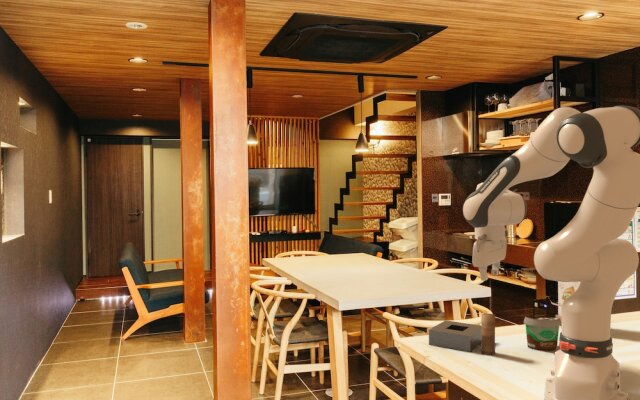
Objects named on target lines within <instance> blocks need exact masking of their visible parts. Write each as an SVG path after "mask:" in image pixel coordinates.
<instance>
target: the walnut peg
mask: <svg viewBox="0 0 640 400" xmlns="http://www.w3.org/2000/svg"><path fill="white" fill-rule="evenodd" d="M480 321H481V325H480V326H482V344H481V354H482V355H484V356H495V355H496V315H495V314H493V313H488V312H487V313H482V314H481V320H480Z"/></svg>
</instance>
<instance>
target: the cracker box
mask: <svg viewBox="0 0 640 400" xmlns="http://www.w3.org/2000/svg"><path fill="white" fill-rule="evenodd" d="M557 283H558V284H557V286H558V287H557V293H558V296H557V297H558V298H557V299H558V300H557V301H558V302H557V303H558V305H557V308H558V309H557V311H558V312H557V315H558V316H559V317H560V319H561V323H562V304H563V302H564V300H565V299H566V298H568V297H569V296H571V295H572V294H574V293H575V292H576V290H577V289H578V287H579V285H580V283H581V282H559V281H557ZM560 326H562V324H561V325H560Z"/></svg>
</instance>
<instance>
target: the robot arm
mask: <svg viewBox="0 0 640 400" xmlns="http://www.w3.org/2000/svg"><path fill="white" fill-rule="evenodd" d="M639 145H640V109H638V108H637V107H634V106H629V105H615V106H612V107H611V106H610V107H599V108H594V109H590V110H586V111H584V112H581V111H579V110H578V109H576V108H573V107H569V106H562V107H559V108H556V109H554V110H553V111H552V112H550V113H549V115H547V116H546V118H544V120H543V121H542V122H541V123H540V124H539V126H537V128H536V129H535V131H534V132H533V133H532V135H531V136H530V138H529V139H528V140H527V141H526V142H525V143H524V144H523V145H522V146H521V147H520V148H519V149H518V150H516V151H515V152H514V153H512V154H511V155H509V156H508V157H507V158H505V159H503V161H501V163H499V164H498V166H497V167H496V168H495V169H494V170H493V171H492V173H491V174H489V175H488V177H487V178H486V179H485V180H484V181H483V182H480V183H478V184H477V186H476V189H475V191H473V192H472V193H470V194H469V195H468V196H467V198H465V200H464V202H463V205H462V215H463V218H464V219H465V221H466V222H467V223H468V224H469V225H470V226H471V227H473V228H474V239H475V241H474V243H473V247H472V258H471V259H472V260H471V261H472V266H473V267H474V268H478V271H479V275H480V280H481V281H484V282H485V281H488V279H489V274H488V272H487V270H488V266H491V265H492V267H491V271H490V273H491V274H490V275H491V276H492V277H493V276H495V277H496V276H498V275H499V270H500V266H501V261H503V260H505V259H506V255H507V245H508V243H507V241H508V239H507V238H508V237H509V230H508V229H506V227H505V226H512V225H518V224H520V223H522V222H523V221H524V220H525V218H526V216H527V212H528V207H527V206H528V204H527V202H526V201H527V200H526V199H525V198H524V197H523V196H522V194H520V193H518V192H517V193H516V192H514V191H512V190H510V188H511V187H513V186H515V185H518V184H521V183H525V182H530V181H535V180H541V179H546V178H549V177H552V176H554V175H555V174H557V173H558V172H560V171H561V170H562V169H563V168H565V166H566V165H567V164H568V163H569V162H570V160H572V161H574V162H577V164H578V165H579V166H580V167H582V168H585V169H590V168H592V169H593V173H592V178H591V180H590V182H589V184H588V187H587V190H586V191H585V194H584V196H583V199H582V201H581V203H580V206H579V208H578V210H577V212H576V214H575V215H574V216H573V218H572V219H571V220H570V221H568V223H567V224H566V226H564V227H563V228H562V229H561V230H560V231H558V232H557V233H556V234H555V235H553V236H552V237H550V238H549V239H546V240H545V241H542V242H541V243H540V244H539V245H538V246H537V247H536V249H535V251H534V256H533V264H534V268H535V270H536V271H537V273H538V274H539V276H540V277H542V278H543V279H545V280H548V281H555V282H558V281H559V282H581V283H580V285H579V287H578V289H577V290H576V292H575V293H574V294H572V295H571V296H569V297H568V298H566V299H565V300H564V302H563V304H562V325H561V331H560V332H559V336H558V348H559V349H558V350H556V351H555V352H554V370H553V369H551V371H550V374H551V376H552V377H548V378H545V379H546V380H545V386H544V387H545V388H544V399H543V400H629V393H627V392H624V391H623V390H621V376H620V372H621V371H620V362H619V361H617V359H616V358H614V356H613V354H612V353H613V348H614V343H613V338H612V337H611V325H612V324H611V323H612V319H611V318H612V308H613V304H614V301H615V298H616V296H617V293H619V290H620V288H621V287H622V285H623V284H625V283H624V282H626V281H627V280H628V279H629V278H630V277H631V276H633V275H634V274H635V273H636V271H637V269H638V267H639V263H640V261H639V260H640V258H639V254H638V251H637V248H636V247H635V245H633V243H632V242H631V241H630V240H627V239H623V238H619V237H621V236H623V235H624V234H625V233H626V231H627V230H628V229H629V228H630V227H629V226H630V224H631V222H632V220H633V218H634V216H635V214H636V211H637V210H638V207H639V206H640V153H638V152H635V151H634V150H633V148H635V147H637V146H639Z"/></svg>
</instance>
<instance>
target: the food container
mask: <svg viewBox="0 0 640 400" xmlns="http://www.w3.org/2000/svg"><path fill="white" fill-rule="evenodd" d="M523 324H525V333H526V342H527V343H526V344H527V348H528V349H531V350H535V351H539V352H552V351H557V349H558V344H559V333H560V332H559V331H560V330H559V329H560V326H562V325H561V324H562V323H561V319H560V317H559V316H558V314H555V316H554V317H543V316H542V317H536V318H531V317H527V316H524V319H523Z"/></svg>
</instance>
